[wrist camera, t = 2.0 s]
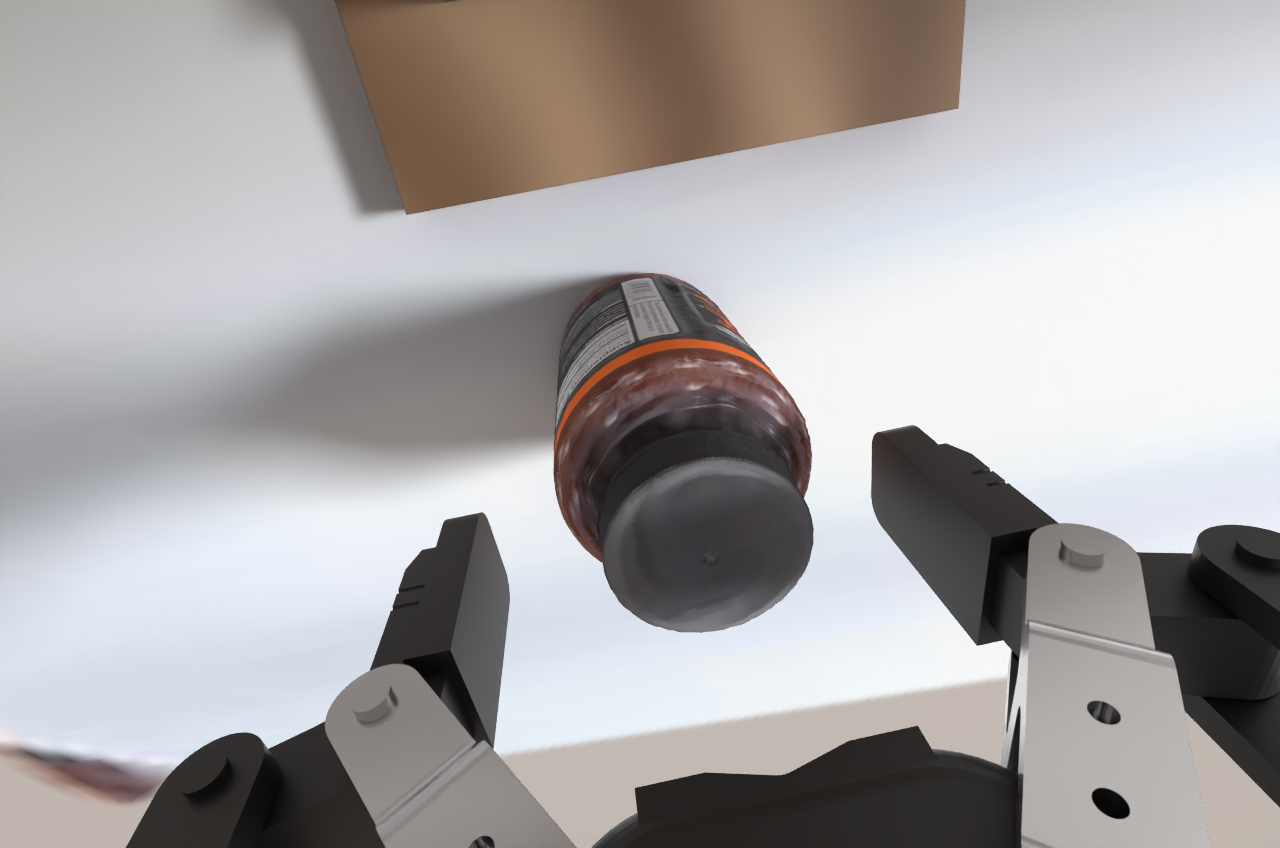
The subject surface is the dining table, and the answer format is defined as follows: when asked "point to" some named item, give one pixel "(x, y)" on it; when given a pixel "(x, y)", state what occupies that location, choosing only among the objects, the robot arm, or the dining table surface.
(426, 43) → the socket plate
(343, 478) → the dining table surface
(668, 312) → the supplement bottle
